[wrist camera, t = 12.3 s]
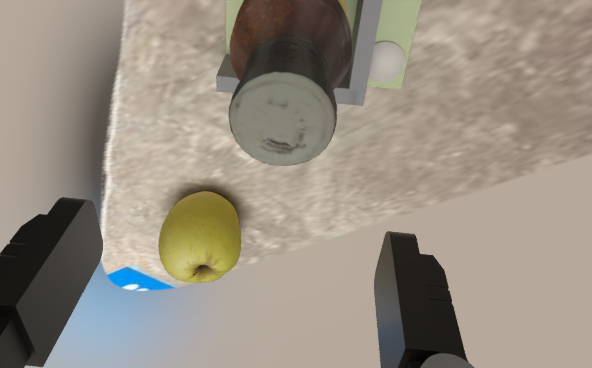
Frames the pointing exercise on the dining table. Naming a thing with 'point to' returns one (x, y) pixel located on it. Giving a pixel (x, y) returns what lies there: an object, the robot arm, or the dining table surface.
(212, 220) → the apple
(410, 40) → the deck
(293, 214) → the dining table surface
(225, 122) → the dining table surface
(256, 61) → the sauce bottle
